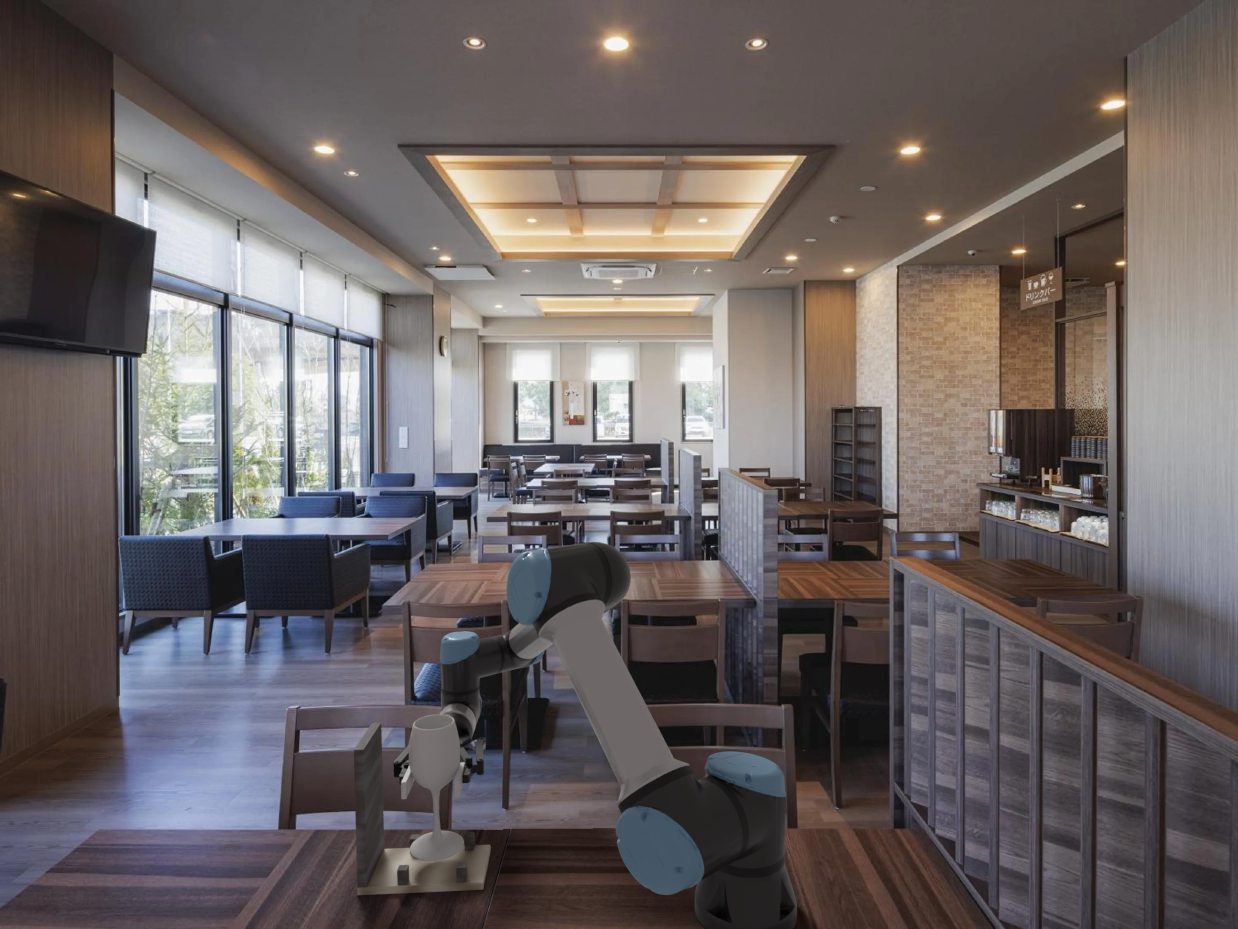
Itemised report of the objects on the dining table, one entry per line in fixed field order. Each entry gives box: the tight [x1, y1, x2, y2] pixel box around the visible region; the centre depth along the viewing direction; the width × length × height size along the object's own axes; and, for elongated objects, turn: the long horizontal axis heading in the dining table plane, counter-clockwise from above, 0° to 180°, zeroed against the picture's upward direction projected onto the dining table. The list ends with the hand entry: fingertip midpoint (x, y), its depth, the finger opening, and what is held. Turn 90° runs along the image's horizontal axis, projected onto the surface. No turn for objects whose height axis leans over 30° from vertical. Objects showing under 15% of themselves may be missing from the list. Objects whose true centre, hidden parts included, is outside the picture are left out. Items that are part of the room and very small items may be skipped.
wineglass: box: [408, 713, 465, 861], centre depth 125 cm, size 9×9×21 cm
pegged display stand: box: [353, 721, 492, 896], centre depth 125 cm, size 20×11×23 cm, turn 93°
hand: (430, 789), depth 120 cm, fingers closed on wineglass, 8 cm apart
